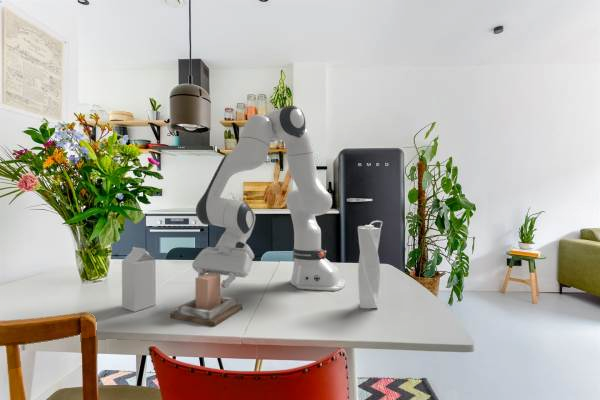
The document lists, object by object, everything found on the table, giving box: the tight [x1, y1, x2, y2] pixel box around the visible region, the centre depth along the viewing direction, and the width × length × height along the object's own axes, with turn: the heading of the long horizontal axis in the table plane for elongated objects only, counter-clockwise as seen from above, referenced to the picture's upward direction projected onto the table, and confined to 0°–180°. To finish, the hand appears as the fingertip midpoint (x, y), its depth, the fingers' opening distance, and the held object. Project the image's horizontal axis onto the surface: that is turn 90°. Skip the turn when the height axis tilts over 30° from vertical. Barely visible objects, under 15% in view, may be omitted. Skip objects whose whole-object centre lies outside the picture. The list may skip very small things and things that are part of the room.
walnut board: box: [169, 295, 244, 327], centre depth 93 cm, size 16×14×3 cm
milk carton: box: [121, 246, 157, 312], centre depth 98 cm, size 7×7×19 cm
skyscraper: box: [357, 219, 384, 310], centre depth 100 cm, size 8×8×28 cm
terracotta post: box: [195, 273, 221, 310], centre depth 93 cm, size 4×6×10 cm
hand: (211, 285), depth 95 cm, fingers open, 8 cm apart
